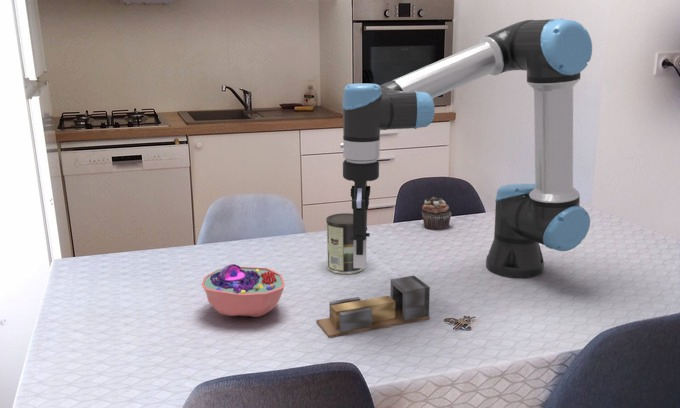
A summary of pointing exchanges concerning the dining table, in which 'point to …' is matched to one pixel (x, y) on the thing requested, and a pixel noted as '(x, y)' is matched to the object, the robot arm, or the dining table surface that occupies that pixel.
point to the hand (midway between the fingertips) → (359, 267)
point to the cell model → (243, 290)
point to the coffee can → (340, 244)
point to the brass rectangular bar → (380, 307)
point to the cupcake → (436, 214)
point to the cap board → (408, 308)
